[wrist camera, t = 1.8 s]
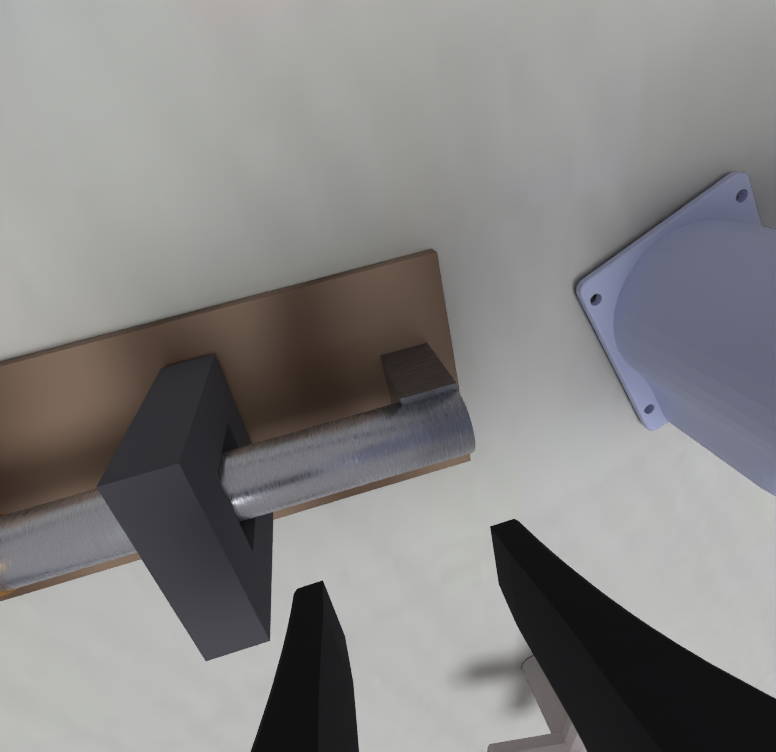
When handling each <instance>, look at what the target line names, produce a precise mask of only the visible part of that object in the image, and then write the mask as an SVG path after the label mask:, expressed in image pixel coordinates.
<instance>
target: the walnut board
mask: <svg viewBox="0 0 776 752" xmlns="http://www.w3.org/2000/svg"><path fill="white" fill-rule="evenodd" d="M423 343H428V344H429V346H430V347H431V348H432V350H433V351H434V352H435V354H436V355H437V357H438V358H439V359H440V361H441V362H442V363H443V365H444V366H445V368H446V369H447V370H448V372H449V373H450V374H451V376H452V377H453V379H454V380H455V381H456V383H457V388H458V391H459V386H458V380H457V374H456V367H455V361H454V355H453V349H452V343H451V337H450V330H449V324H448V318H447V312H446V306H445V300H444V294H443V287H442V281H441V275H440V269H439V263H438V257H437V252H436V251H434V250H433V249H431V250H427V251H423V252H419V253H416V254H412V255H408V256H404V257H400V258H397V259H393V260H389V261H385V262H381V263H377V264H374V265H370V266H366V267H362V268H358V269H354V270H351V271H347V272H343V273H339V274H335V275H331V276H328V277H324V278H320V279H316V280H312V281H308V282H305V283H301V284H297V285H293V286H289V287H286V288H282V289H278V290H274V291H270V292H266V293H263V294H259V295H255V296H251V297H247V298H243V299H240V300H236V301H232V302H228V303H224V304H220V305H217V306H213V307H209V308H205V309H201V310H197V311H194V312H190V313H186V314H182V315H178V316H175V317H171V318H167V319H163V320H159V321H155V322H152V323H148V324H144V325H140V326H136V327H132V328H129V329H125V330H121V331H117V332H113V333H109V334H106V335H102V336H98V337H94V338H90V339H86V340H83V341H79V342H75V343H71V344H67V345H63V346H60V347H56V348H52V349H48V350H44V351H41V352H37V353H33V354H29V355H25V356H21V357H18V358H14V359H10V360H6V361H2V362H0V514H9V513H12V512H16V511H19V510H23V509H26V508H30V507H33V506H37V505H40V504H44V503H47V502H51V501H54V500H58V499H61V498H65V497H68V496H72V495H75V494H79V493H82V492H86V491H89V490H93V489H96V487H97V485H98V483H99V481H100V479H101V477H102V476H103V474H104V472H105V470H106V468H107V466H108V465H109V463H110V461H111V459H112V457H113V455H114V454H115V452H116V450H117V448H118V446H119V444H120V443H121V441H122V439H123V437H124V435H125V433H126V432H127V430H128V428H129V426H130V424H131V422H132V421H133V419H134V417H135V415H136V413H137V411H138V410H139V408H140V406H141V404H142V402H143V400H144V399H145V397H146V395H147V393H148V391H149V389H150V388H151V386H152V384H153V382H154V380H155V378H156V377H157V375H158V373H159V371H160V369H161V368H164V367H168V366H171V365H175V364H179V363H183V362H186V361H190V360H194V359H197V358H201V357H205V356H209V355H212V354H215V356H216V358H217V360H218V363H219V365H220V368H221V370H222V372H223V375H224V377H225V380H226V382H227V385H228V387H229V389H230V392H231V394H232V397H233V399H234V401H235V404H236V406H237V409H238V411H239V413H240V416H241V418H242V421H243V423H244V425H245V428H246V430H247V433H248V435H249V437H250V440H251V442H252V444H254V443H257V442H261V441H264V440H268V439H271V438H275V437H278V436H282V435H285V434H289V433H292V432H296V431H299V430H303V429H306V428H310V427H313V426H317V425H320V424H324V423H327V422H331V421H334V420H338V419H341V418H345V417H348V416H352V415H355V414H359V413H362V412H366V411H369V410H373V409H376V408H380V407H383V406H387V405H390V404H392V403H391V399H390V394H389V390H388V386H387V382H386V378H385V374H384V370H383V365H382V361H381V357H380V355H383V354H387V353H391V352H394V351H398V350H401V349H405V348H409V347H412V346H416V345H419V344H423ZM459 393H460V392H459ZM467 461H471V460H470V454H466V455H462V456H459V457H456V458H452V459H449V460H445V461H442V462H439V463H435V464H432V465H429V466H425V467H422V468H419V469H415V470H412V471H409V472H405V473H402V474H398V475H395V476H392V477H388V478H385V479H382V480H378V481H375V482H372V483H368V484H365V485H362V486H358V487H355V488H351V489H348V490H345V491H341V492H338V493H335V494H331V495H328V496H325V497H321V498H318V499H315V500H311V501H308V502H305V503H301V504H298V505H294V506H291V507H288V508H284V509H281V510H278V511H274V512H273V520H274V519H277V518H280V517H284V516H287V515H290V514H294V513H297V512H300V511H304V510H307V509H310V508H314V507H317V506H320V505H324V504H327V503H330V502H334V501H337V500H340V499H344V498H347V497H350V496H354V495H357V494H360V493H364V492H367V491H370V490H374V489H377V488H380V487H384V486H387V485H390V484H394V483H397V482H401V481H404V480H407V479H411V478H414V477H417V476H421V475H424V474H427V473H431V472H434V471H437V470H441V469H444V468H447V467H451V466H454V465H457V464H461V463H464V462H467ZM140 559H141V557H140V556H139V554H138V553H133V554H130V555H127V556H123V557H120V558H117V559H113V560H110V561H107V562H103V563H100V564H97V565H93V566H90V567H86V568H83V569H80V570H76V571H73V572H70V573H66V574H63V575H60V576H56V577H53V578H50V579H46V580H43V581H39V582H36V583H33V584H29V585H26V586H23V587H19V588H17V589H16V590H15V591H13V592H12V593H10V594H7V595H4V596H0V601H3V600H6V599H10V598H13V597H16V596H20V595H23V594H26V593H30V592H33V591H36V590H40V589H43V588H46V587H50V586H53V585H56V584H60V583H63V582H66V581H70V580H73V579H76V578H80V577H83V576H86V575H90V574H93V573H97V572H100V571H103V570H107V569H110V568H113V567H117V566H120V565H123V564H127V563H130V562H133V561H137V560H140Z"/></svg>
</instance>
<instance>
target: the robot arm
mask: <svg viewBox="0 0 776 752" xmlns="http://www.w3.org/2000/svg"><path fill="white" fill-rule="evenodd" d="M739 191H740V195H739V197H738V199H737V200H736V196H737V194H738V192H739ZM576 293H577V296H578V298H579V300H580V302H581V304H582V306H583V308H584V310H585V312H586V314H587V316H588V318H589V320H590V322H591V324H592V326H593V328H594V330H595V332H596V334H597V336H598V338H599V340H600V342H601V344H602V346H603V348H604V350H605V352H606V354H607V356H608V358H609V360H610V362H611V363H612V365H613V367H614V369H615V371H616V373H617V375H618V377H619V379H620V381H621V383H622V385H623V387H624V389H625V391H626V393H627V395H628V397H629V399H630V401H631V403H632V405H633V407H634V409H635V411H636V413H637V415H638V417H639V419H640V421H641V423H642V425H643V426H644V427H645V428H647V429H648V430H651V431H652V430H656V429H658V428H660V427H661V426H663V425H664V424H666V423H667V422H670V423H671V424H673V425H674V426H675V427H677V428H678V429H680V430H681V431H682V432H684V433H685V434H687V435H688V436H689V437H691V438H692V439H694V440H695V441H696V442H698V443H699V444H701V445H702V446H703V447H705V448H706V449H708V450H709V451H710V452H712V453H713V454H714V455H716V456H717V457H719V458H720V459H721V460H723V461H724V462H726V463H727V464H728V465H730V466H731V467H733V468H734V469H735V470H737V471H738V472H740V473H741V474H742V475H744V476H745V477H746V478H748V479H749V480H751V481H752V482H753V483H755V484H756V485H758V486H759V487H760V488H762V489H764V490H765V491H767V492H769V493H771V494H772V495H775V496H776V229H774V228H768V227H763V226H761V222H760V218H759V214H758V210H757V207H756V203H755V199H754V195H753V191H752V188H751V184H750V180H749V177H748V175H747V174H746V173H744V172H732V173H730V174H728V175H727V176H725V177H724V178H723V179H721V180H720V181H718V182H717V183H716V184H714V185H713V186H712V187H710V188H709V189H707V190H706V191H705V192H703V193H702V194H700V195H699V196H698V197H696V198H695V199H693V200H692V201H691V202H689V203H688V204H686V205H685V206H684V207H682V208H681V209H680V210H678V211H677V212H675V213H674V214H673V215H671V216H670V217H668V218H667V219H666V220H664V221H663V222H661V223H660V224H659V225H657V226H656V227H654V228H653V229H652V230H650V231H649V232H647V233H646V234H645V235H643V236H642V237H641V238H639V239H638V240H636V241H635V242H634V243H632V244H631V245H629V246H628V247H627V248H625V249H624V250H622V251H621V252H620V253H618V254H617V255H615V256H614V257H613V258H611V259H610V260H609V261H607V262H606V263H604V264H603V265H602V266H600V267H599V268H597V269H596V270H595V271H593V272H592V273H590V274H589V275H588V276H586V277H585V278H583V279H582V280H581V281H580V282H579V284H578V286H577V289H576ZM594 294H596V299H595V300H594V301H593V302H592V303H590V300H591V297H592V296H593V295H594ZM647 406H648V407H647ZM646 407H647V408H646ZM645 408H646V409H645ZM490 528H491V535H492V541H493V548H494V555H495V561H496V568H497V575H498V581H499V586H500V588H501V590H502V592H503V595H504V597H505V599H506V602H507V604H508V606H509V608H510V611H511V613H512V615H513V617H514V620H515V622H516V624H517V626H518V628H519V630H520V632H521V633H522V635H523V637H524V639H525V640H526V642H527V644H528V646H529V648H530V649H531V651H532V653H533V655H534V656H535V658H536V660H537V662H538V663H539V665H540V667H541V669H542V670H543V672H544V674H545V676H546V677H547V679H548V681H549V683H550V685H551V686H552V688H553V690H554V692H555V693H556V695H557V697H558V699H559V700H560V702H561V704H562V706H563V707H564V709H565V711H566V713H567V714H568V716H569V718H570V720H571V721H572V723H573V725H574V727H575V729H576V731H577V733H578V735H579V737H580V739H581V740H582V742H583V744H584V746H585V749H586V751H587V752H776V699H775V698H773V697H771V696H769V695H768V694H766V693H764V692H762V691H760V690H758V689H756V688H755V687H753V686H751V685H749V684H747V683H745V682H744V681H742V680H740V679H738V678H736V677H734V676H732V675H731V674H729V673H727V672H725V671H723V670H721V669H720V668H718V667H716V666H714V665H712V664H710V663H709V662H707V661H705V660H704V659H702V658H700V657H699V656H697V655H695V654H694V653H692V652H690V651H689V650H687V649H685V648H684V647H682V646H680V645H679V644H677V643H675V642H674V641H672V640H671V639H669V638H668V637H666V636H664V635H663V634H661V633H660V632H658V631H656V630H655V629H653V628H652V627H650V626H649V625H647V624H646V623H644V622H643V621H641V620H640V619H639V618H637V617H636V616H634V615H633V614H631V613H630V612H628V611H627V610H626V609H624V608H623V607H622V606H620V605H619V604H617V603H616V602H615V601H613V600H612V599H610V598H609V597H608V596H606V595H605V594H604V593H602V592H601V591H600V590H598V589H597V588H596V587H594V586H593V585H592V584H591V583H589V582H588V581H587V580H586V579H584V578H583V577H582V576H581V575H579V574H578V573H577V572H576V571H574V570H573V569H572V568H571V567H569V566H568V565H567V564H566V563H565V562H563V561H562V560H561V559H560V558H559V557H557V556H556V555H555V554H554V553H553V552H552V551H551V550H549V549H548V548H547V547H546V546H545V545H544V544H543V543H541V542H540V541H539V540H538V539H537V538H536V537H535V536H534V535H533V534H532V533H531V532H530V531H528V530H527V529H526V528H525V527H524V526H523V525H522V524H521V523H520V522H519V521H517V520H515V519H512V520H509V521H506V522H503V523H500V524H497V525H494V526H490ZM251 752H359V747H358V734H357V722H356V710H355V698H354V687H353V679H352V673H351V668H350V662H349V656H348V651H347V645H346V640H345V635H344V633H343V630H342V628H341V625H340V623H339V620H338V618H337V615H336V613H335V610H334V608H333V605H332V602H331V600H330V597H329V595H328V592H327V590H326V587H325V585H324V582H323V581H320V582H317V583H314V584H310V585H307V586H304V587H301V588H298V589H297V590H296V591H295V593H294V596H293V603H292V608H291V613H290V618H289V623H288V628H287V632H286V636H285V640H284V645H283V649H282V653H281V656H280V660H279V664H278V667H277V671H276V674H275V678H274V682H273V685H272V689H271V692H270V695H269V698H268V702H267V705H266V708H265V711H264V714H263V717H262V720H261V723H260V726H259V729H258V732H257V735H256V738H255V741H254V744H253V746H252V749H251Z"/></svg>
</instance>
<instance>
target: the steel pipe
mask: <svg viewBox="0 0 776 752" xmlns="http://www.w3.org/2000/svg"><path fill="white" fill-rule="evenodd" d="M380 357H381V361H382V365H383V370H384V374H385V378H386V382H387V386H388V390H389V394H390V399H391V403H392V404H390V405H387V406H383V407H380V408H376V409H373V410H369V411H366V412H362V413H359V414H355V415H352V416H348V417H345V418H341V419H338V420H334V421H331V422H327V423H324V424H320V425H317V426H313V427H310V428H306V429H303V430H299V431H296V432H292V433H289V434H285V435H282V436H278V437H275V438H271V439H268V440H264V441H261V442H257V443H254V444H250V445H247V446H243V447H240V448H236V449H233V450H229V451H226V452H222V454H221V459H220V464H219V469H218V474H217V478H218V480H219V482H220V484H221V486H222V488H223V490H224V492H225V495H226V497H227V499H228V501H229V503H230V505H231V507H232V509H233V511H234V513H235V516H236V518H237V520H238V522H241V521H244V520H247V519H251V518H254V517H258V516H261V515H264V514H268V513H271V512H274V511H278V510H281V509H284V508H288V507H291V506H294V505H298V504H301V503H305V502H308V501H311V500H315V499H318V498H321V497H325V496H328V495H331V494H335V493H338V492H341V491H345V490H348V489H351V488H355V487H358V486H362V485H365V484H368V483H372V482H375V481H378V480H382V479H385V478H388V477H392V476H395V475H398V474H402V473H405V472H409V471H412V470H415V469H419V468H422V467H425V466H429V465H432V464H435V463H439V462H442V461H445V460H449V459H452V458H456V457H459V456H462V455H466V454H469V453H472V452H474V451H475V438H474V432H473V428H472V424H471V420H470V417H469V414H468V411H467V408H466V406H465V403H464V401H463V399H462V397H461V395H460V393H459V391H458V388H457V383H456V381H455V380H454V379H453V377H452V376H451V374H450V373H449V372H448V370H447V369H446V368H445V366H444V365H443V363H442V362H441V361H440V359H439V358H438V357H437V355H436V354H435V352H434V351H433V350H432V348H431V347H430V346H429V344H428V343H423V344H419V345H416V346H412V347H409V348H405V349H401V350H398V351H394V352H391V353H387V354H383V355H380ZM133 553H137V551H136V549H135V548H134V546H133V545H132V543H131V542H130V540H129V538H128V537H127V535H126V534H125V532H124V530H123V529H122V527H121V526H120V524H119V523H118V521H117V519H116V518H115V516H114V515H113V513H112V511H111V510H110V508H109V507H108V505H107V503H106V502H105V500H104V499H103V497H102V496H101V494H100V492H99V491H98V489H97V488H96V489H93V490H89V491H86V492H82V493H79V494H75V495H72V496H68V497H65V498H61V499H58V500H54V501H51V502H47V503H44V504H40V505H37V506H33V507H30V508H26V509H23V510H19V511H16V512H12V513H9V514H0V596H4V595H7V594H10V593H12V592H13V591H15V590H16V589H17V588H19V587H23V586H26V585H29V584H33V583H36V582H39V581H43V580H46V579H50V578H53V577H56V576H60V575H63V574H66V573H70V572H73V571H76V570H80V569H83V568H86V567H90V566H93V565H97V564H100V563H103V562H107V561H110V560H113V559H117V558H120V557H123V556H127V555H130V554H133Z"/></svg>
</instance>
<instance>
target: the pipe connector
mask: <svg viewBox="0 0 776 752" xmlns="http://www.w3.org/2000/svg"><path fill="white" fill-rule="evenodd" d="M522 670H523V672H524V674H525V677H526V679H527V681H528V683H529V685H530V688H531V690H532V692H533V694H534V696H535V698H536V701H537V703H538V705H539V707H540V709H541V712H542V714H543V716H544V718H545V720H546V723H547V725H548V727H549V729H550V731H551V734H546V735H541V736H535V737H529V738H523V739H517V740H511V741H505V742H499V743H494V744H490V745H489V746H488V750H487V752H587V751H586V749H585V746H584V744H583V742H582V740H581V739H580V737H579V735H578V733H577V731H576V729H575V727H574V725H573V723H572V721H571V720H570V718H569V716H568V714H567V713H566V711H565V709H564V707H563V706H562V704H561V702H560V700H559V699H558V697H557V695H556V693H555V692H554V690H553V688H552V686H551V685H550V683H549V681H548V679H547V677H546V676H545V674H544V672H543V670H542V669H541V667H540V665H539V663H538V662H537V660H536V658H535V656H532V657H530V658H529V659H527V660H526V661H525V662H524V663H523V665H522Z"/></svg>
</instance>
